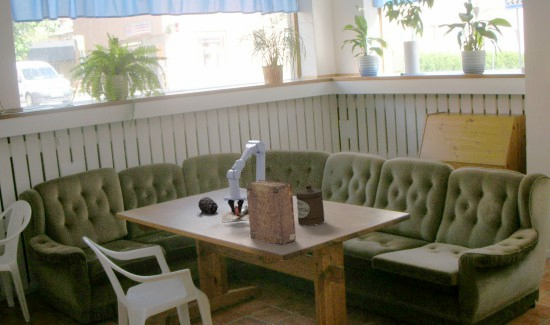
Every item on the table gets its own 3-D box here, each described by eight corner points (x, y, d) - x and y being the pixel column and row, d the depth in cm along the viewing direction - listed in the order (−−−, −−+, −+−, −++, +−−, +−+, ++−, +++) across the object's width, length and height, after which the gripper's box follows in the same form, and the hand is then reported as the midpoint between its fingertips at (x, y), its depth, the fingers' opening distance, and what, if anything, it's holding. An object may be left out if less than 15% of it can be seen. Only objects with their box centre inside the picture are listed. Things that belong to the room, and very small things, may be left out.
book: (250, 238, 384) (245, 182, 380) (263, 234, 390) (258, 179, 386) (282, 245, 365) (278, 186, 361) (296, 240, 371) (291, 183, 367)
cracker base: (254, 210, 449) (253, 204, 449) (256, 219, 426) (255, 212, 425) (221, 213, 448) (221, 207, 447) (222, 222, 424) (221, 215, 424)
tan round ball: (238, 212, 444) (237, 206, 443) (238, 213, 440) (237, 207, 439) (231, 213, 443) (230, 206, 443) (231, 214, 439) (231, 208, 439)
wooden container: (293, 222, 411) (290, 184, 408) (317, 218, 417) (314, 180, 413) (305, 227, 397) (302, 188, 394) (329, 222, 403) (326, 184, 400)
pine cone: (209, 217, 442) (207, 201, 441) (196, 213, 457) (194, 197, 456) (224, 214, 448) (222, 198, 446) (210, 209, 463) (209, 194, 461)
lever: (244, 209, 444) (243, 200, 444) (250, 209, 443) (249, 199, 442) (233, 216, 428) (232, 206, 427) (240, 216, 427) (239, 206, 426)
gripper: (220, 191, 425) (222, 213, 428) (243, 191, 420) (245, 214, 422) (225, 188, 432) (227, 211, 434) (248, 188, 427) (250, 211, 429)
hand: (236, 212), depth 429 cm, fingers open, 4 cm apart
